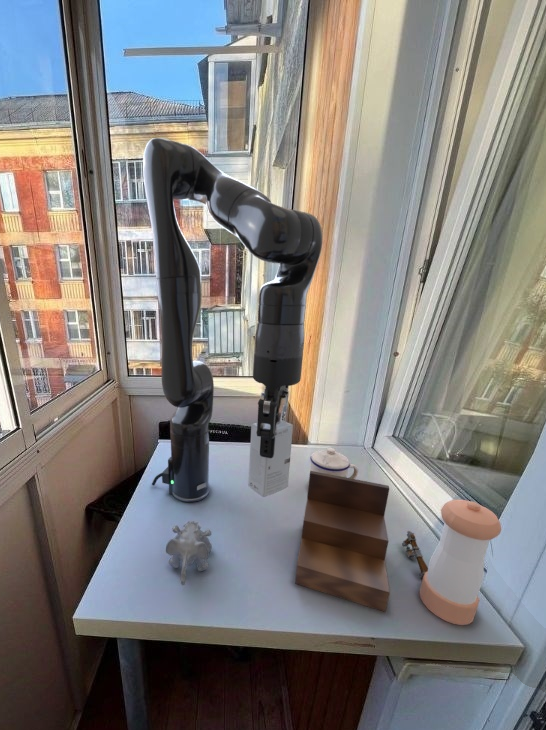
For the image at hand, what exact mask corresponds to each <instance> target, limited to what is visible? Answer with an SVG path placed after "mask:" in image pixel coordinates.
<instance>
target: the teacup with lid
mask: <svg viewBox="0 0 546 730" xmlns="http://www.w3.org/2000/svg"><path fill="white" fill-rule="evenodd" d="M309 458H310V459H309V460H310V466H309V467H310V468H309V472H310V471H315V472H320V473H325V474H330V475H335V476H341V477H346V478H351V479H357V477H358V474H359V469H358V466H357V465H355V464H353V463H350V460H349V459H348V457H347V456H345V455H344V454H343V453H340V452H338V451H336V448H333V447H327V448H326V449H320V450H315V451H314V452H312V454H311V455H310V457H309ZM349 469H353V472H352V473H351V475H350V476H349V477H348V472H349ZM309 477H310V474H309ZM309 477H308V478H309ZM307 484H308V486H309V483H307Z"/></svg>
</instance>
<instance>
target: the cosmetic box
mask: <svg viewBox="0 0 546 730" xmlns="http://www.w3.org/2000/svg"><path fill="white" fill-rule="evenodd" d="M257 423H258V422H254V423H252V424H251V425H250V442H249V443H250V446H249V463H248V465H249V466H248V480H247V482H248V483H247V485H248V487H249V488H250V489H252V490H253V491H254V492H255V493H256V494H258V495H259V496H261V497H263V498H266V497H268V496H271V495H274V494H276V493H278V492H281V491H283V490H286V489H287V488H288V487H289V478H290V465H291V454H292V441H293V432H294V431H293V429H294V424H292V423H290V422H287V421H285V420H284V419H283V420H282V421H281V423H280V424H278V425H277V431H276V432H277V435H276V437H275V450H274V456H273V458H266V457H262V456H260V441H261V436H260V437H259V436H257ZM264 428H266V429H270V424H265V427H264Z"/></svg>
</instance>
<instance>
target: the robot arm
mask: <svg viewBox="0 0 546 730" xmlns="http://www.w3.org/2000/svg"><path fill="white" fill-rule="evenodd" d="M142 175H143V185H144V191H145V197H146V203H147V208H148V214H149V221H150V227H151V231H152V232H151V234H152V243H153V254H154V263H155V281H156V293H157V301H158V308H159V325H160V337H161V387H162V392H163V394H164V396H165V399H166V400H167V401H168V403H169V404H171V406H173V407H176V409H175V411H174V412H173V414H172V415H171V418H170V420H169V432H170V456H169V458H168V460H167V466H166V468H165V469H164V470H163V471H162V472H160V473H158V474H157V475H156V476H155V477H154V479H153V480H152V482H151V486H153V487H154V486H155V485H156V483H157V481H158V480H159V479H160V478H161V482H162V484H165V485H168V494H169V495H172V496H173V497H174V498H175V499H176V500H178V501H180V502H184V503H193V502H199V501H202V500H204V499H206V498H207V497H208V495H209V493H210V482H209V481H210V422H211V420H212V416H213V411H214V394H215V393H214V391H215V390H214V389H215V387H214V385H215V384H214V377H213V373H212V371H211V369H210V367H209V366H208V365H207V364H206V363H205V362H203V361H201V360H198V359H196V360H195V359H194V357H193V340H194V335H195V331H196V327H197V323H198V320H199V316H200V312H201V308H202V303H203V301H202V298H203V295H202V294H203V293H202V291H203V290H202V289H203V288H202V277H201V276H202V275H201V274H202V273H201V267H200V265H199V262H198V259H197V257H196V256H195V253H194V252H193V250H192V248H191V246H190V244H189V243H188V241H187V240H186V239H187V238H185V236H184V234H183V232H182V230H181V228H180V225H179V223H178V219H177V215H176V210H175V203H174V200H176V201H193V202H198V203H200V204H202V205H205V206H206V208H207V211H208V214H209V215H210V217H211V218H212V219H213V221H214V222H216V223H217V224H218V225H219V226H220V227H222V228H223V229H225V230H226V231H228V232H229V233H231V234H232V235H234V237H237V238H238V239H239V241H240V242H241V243H242V244H243V246H244V247H245V249H246V250H247V251H248V252H249V253H250V254H251V255H252V256H254V257H255V258H257V259H259V260H261V261H263V262H265V263H269V264H279V265H278V269H277V271H276V274H275V277H274V279H273V280H271V281H268V282H265V283H264V284H263V285H261V287H260V289H259V292H258V303H257V304H258V305H257V323H256V329H255V335H254V347H253V363H252V366H253V367H252V379H253V380H254V381H255V382H256V383H259V384H262V385H264V387H265V388H264V391H263V392H260V393H261V394H260V398H259V400H258V402H257V405H258V406H257V422H256V423H257V436H259V437H260V436H261V441H260V456H262V457H266V458H273V456H274V450H275V437H276V435H277V432H276V431H277V425H278V424H280V423H281V421H282V420H283V421H284V419H285V417H286V415H287V414H286V412H287V410H288V406H289V398H290V397H289V396H290V390H289V387H291V386H295V385H298V384H299V383H300V382H301V379H302V369H303V359H304V347H305V319H306V309H307V296H308V292H309V289H310V287H311V284H312V283H313V279H314V276H315V272H316V269H317V267H318V264H319V261H320V257H321V253H322V250H323V249H322V248H323V230H322V226H321V222H320V221H319V219H318V218H317V217H316V216H315V215H313V214H312V213H309V212H306V211H300V210H296V209H292V208H287V207H283V206H280V205H277V204H276V203H272V201H271V199H270V198H269V197H268V196H267V195H266V194H265V193H263V192H262V191H260V190H258V189H256V188H255V187H253V186H251V185H249V184H246V183H245V182H243V181H241V180H239V179H236V178H234V177H232V176H230V175H228V174H226V173H224V172H223V171H222V170H220V169H219V168H218V167H217V166H215V165H214V164H213V163H212V162H211V161H210V160H209V159H208V158H207V157H206V156H205V155H204V154H203V153H202V152H200V151H199V150H198V149H197V148H195V147H193V146H192V145H189V144H186V143H182V142H178V141H174V140H169V139H166V138H161V137H154V138H151V139H150V140H149V141H148V142H147V143H146V146H145V148H144V152H143V157H142ZM265 424H270V429H266V428H264V427H265Z"/></svg>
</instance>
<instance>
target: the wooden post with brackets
mask: <svg viewBox="0 0 546 730" xmlns="http://www.w3.org/2000/svg"><path fill="white" fill-rule="evenodd" d="M406 532H407V534H406V537H407V538H406V539H405V540H403V541H402V543H401V545H402V547H405V549H406V550H405V553H406V555H407V558H409V559H410V560H412V561H413V560H415V559H416V561H417V563H418V567H419V570H420V574H419V578H420V579H423V576H424V574H425V572H427V571H428V567H429V566H428V565H427V564H426V562H425V560H424V558H423V557H424V556H423V554H422V552H421V548H420V546H418V543H417V539H416V536H415V533H414V532H412V531H411V530H407V531H406ZM409 545H410V546H411V547H410V546H409Z"/></svg>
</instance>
